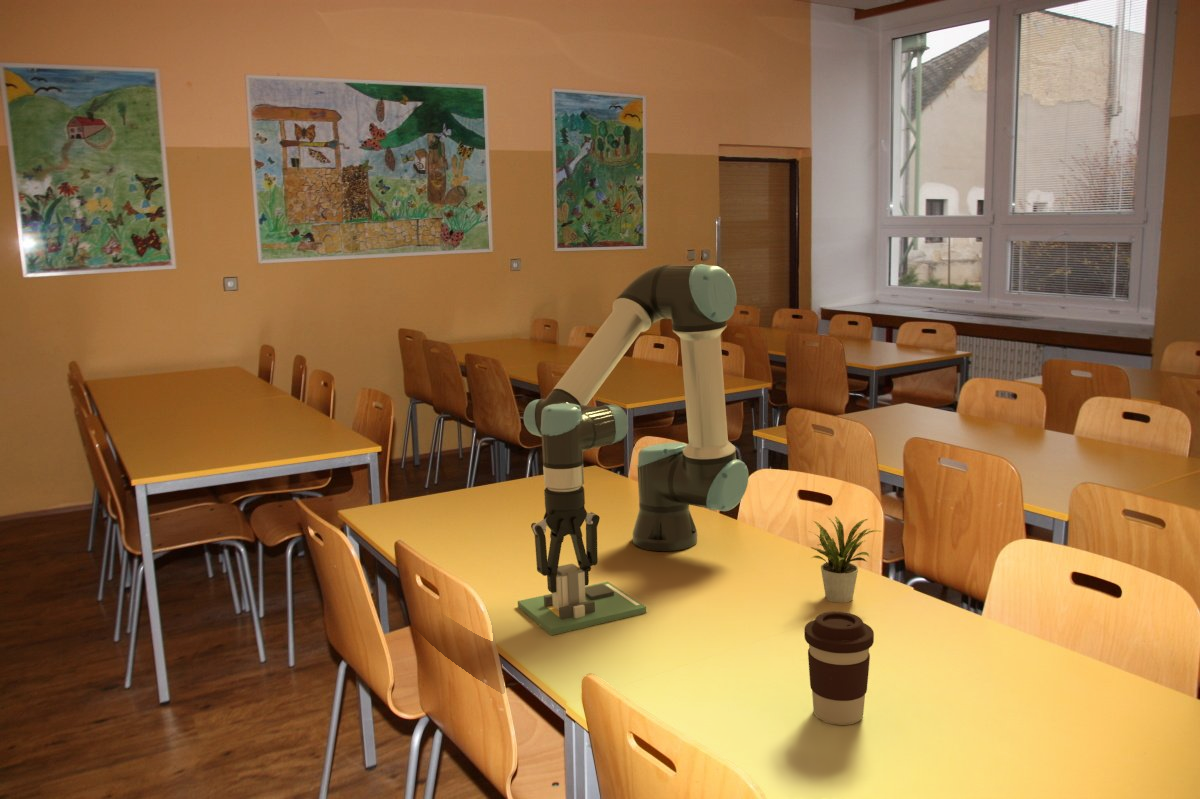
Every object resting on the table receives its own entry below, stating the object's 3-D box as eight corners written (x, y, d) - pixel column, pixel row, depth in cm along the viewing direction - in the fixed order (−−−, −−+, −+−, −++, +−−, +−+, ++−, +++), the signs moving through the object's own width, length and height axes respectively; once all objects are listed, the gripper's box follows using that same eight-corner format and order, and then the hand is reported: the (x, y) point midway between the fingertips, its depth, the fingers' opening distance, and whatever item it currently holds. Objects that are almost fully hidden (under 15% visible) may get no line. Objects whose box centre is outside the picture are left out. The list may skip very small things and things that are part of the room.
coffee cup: (796, 701, 150) (796, 609, 147) (859, 696, 151) (860, 604, 148) (815, 733, 140) (816, 635, 138) (882, 728, 141) (884, 630, 138)
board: (607, 587, 200) (607, 572, 200) (646, 612, 186) (646, 596, 186) (517, 606, 192) (517, 591, 191) (551, 635, 178) (550, 618, 177)
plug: (574, 602, 189) (572, 563, 188) (584, 610, 185) (582, 570, 184) (555, 607, 188) (553, 567, 186) (565, 614, 184) (563, 574, 182)
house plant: (889, 589, 194) (890, 510, 191) (877, 615, 181) (879, 531, 178) (817, 581, 200) (817, 504, 197) (801, 605, 187) (801, 523, 184)
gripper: (596, 475, 190) (600, 589, 194) (513, 489, 182) (519, 607, 186) (614, 484, 183) (618, 601, 187) (529, 498, 175) (535, 620, 179)
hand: (569, 604), depth 186 cm, fingers open, 4 cm apart
